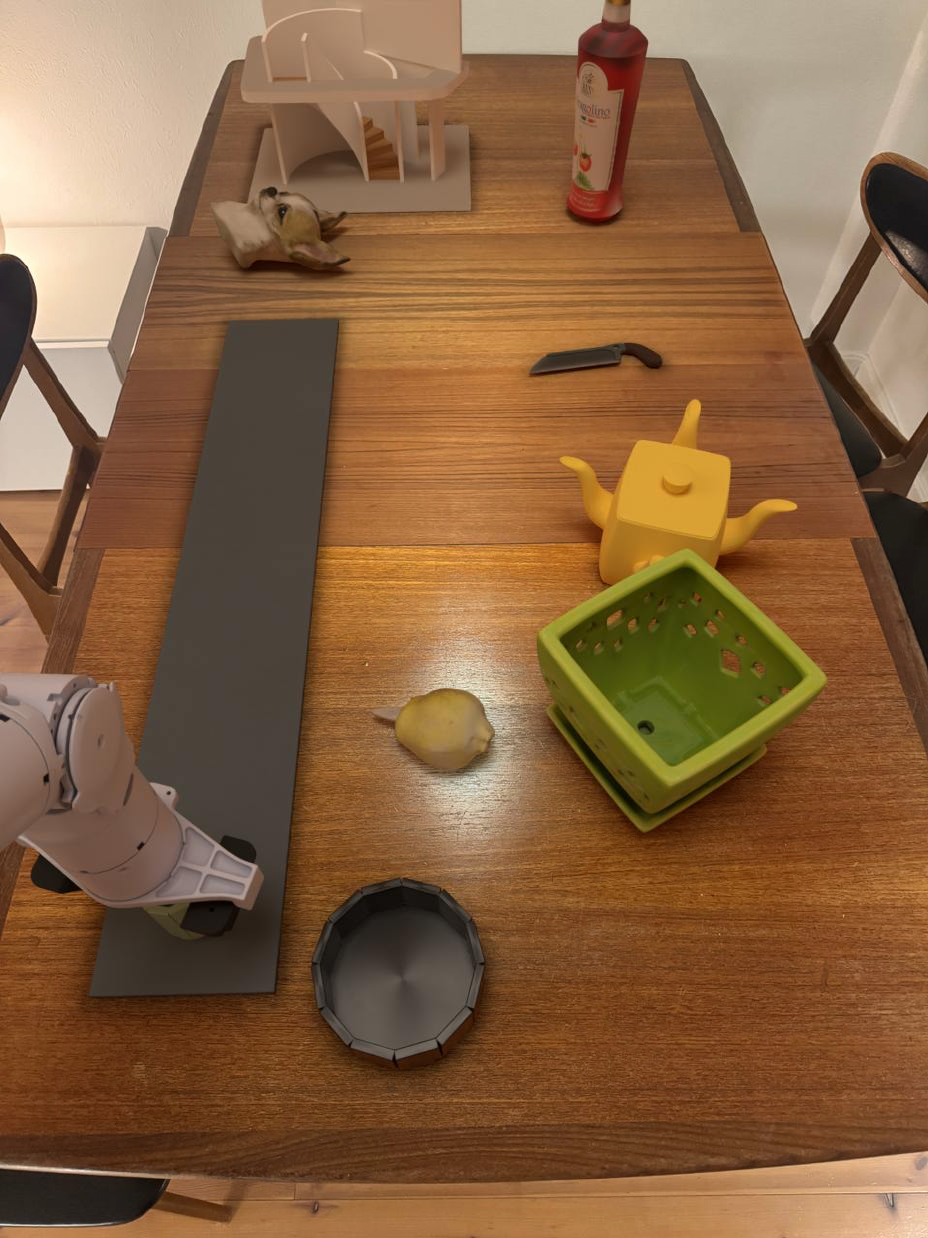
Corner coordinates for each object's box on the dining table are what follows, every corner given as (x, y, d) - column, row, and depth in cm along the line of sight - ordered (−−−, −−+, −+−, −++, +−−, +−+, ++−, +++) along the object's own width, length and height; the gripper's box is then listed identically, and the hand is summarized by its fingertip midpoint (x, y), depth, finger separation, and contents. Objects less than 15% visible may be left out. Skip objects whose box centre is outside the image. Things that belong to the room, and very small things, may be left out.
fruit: (388, 686, 70) (509, 705, 67) (371, 760, 68) (494, 782, 65) (365, 666, 64) (495, 685, 62) (345, 745, 63) (479, 769, 60)
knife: (651, 342, 93) (652, 337, 92) (663, 367, 91) (664, 361, 90) (523, 359, 92) (523, 353, 91) (531, 384, 89) (531, 378, 89)
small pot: (217, 944, 58) (193, 919, 53) (152, 934, 58) (121, 908, 53) (236, 879, 60) (215, 849, 56) (174, 870, 61) (147, 839, 56)
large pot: (458, 1090, 53) (457, 1080, 50) (299, 1042, 55) (286, 1029, 51) (499, 922, 59) (500, 902, 55) (354, 883, 61) (345, 861, 57)
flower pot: (781, 766, 65) (839, 680, 55) (635, 867, 61) (668, 794, 51) (659, 636, 72) (690, 536, 62) (520, 718, 68) (528, 627, 57)
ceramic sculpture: (209, 162, 98) (344, 161, 99) (223, 234, 105) (348, 231, 107) (204, 216, 92) (347, 214, 94) (219, 288, 99) (352, 285, 101)
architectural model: (244, 214, 108) (193, -5, 88) (264, 127, 120) (223, -82, 100) (471, 210, 108) (469, -10, 88) (468, 124, 120) (467, -87, 100)
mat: (275, 993, 57) (274, 992, 56) (90, 998, 57) (88, 996, 56) (339, 322, 96) (338, 318, 95) (229, 324, 96) (228, 320, 95)
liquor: (551, 214, 107) (572, -63, 84) (586, 188, 110) (616, -84, 87) (600, 235, 104) (635, -44, 81) (635, 209, 107) (678, -67, 84)
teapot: (637, 642, 72) (657, 569, 64) (546, 527, 79) (554, 449, 71) (775, 572, 76) (811, 496, 68) (677, 469, 83) (698, 389, 75)
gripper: (263, 783, 46) (304, 868, 57) (19, 720, 48) (105, 814, 59) (206, 914, 42) (263, 978, 53) (-56, 840, 44) (52, 916, 56)
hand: (177, 899), depth 56 cm, fingers open, 7 cm apart
